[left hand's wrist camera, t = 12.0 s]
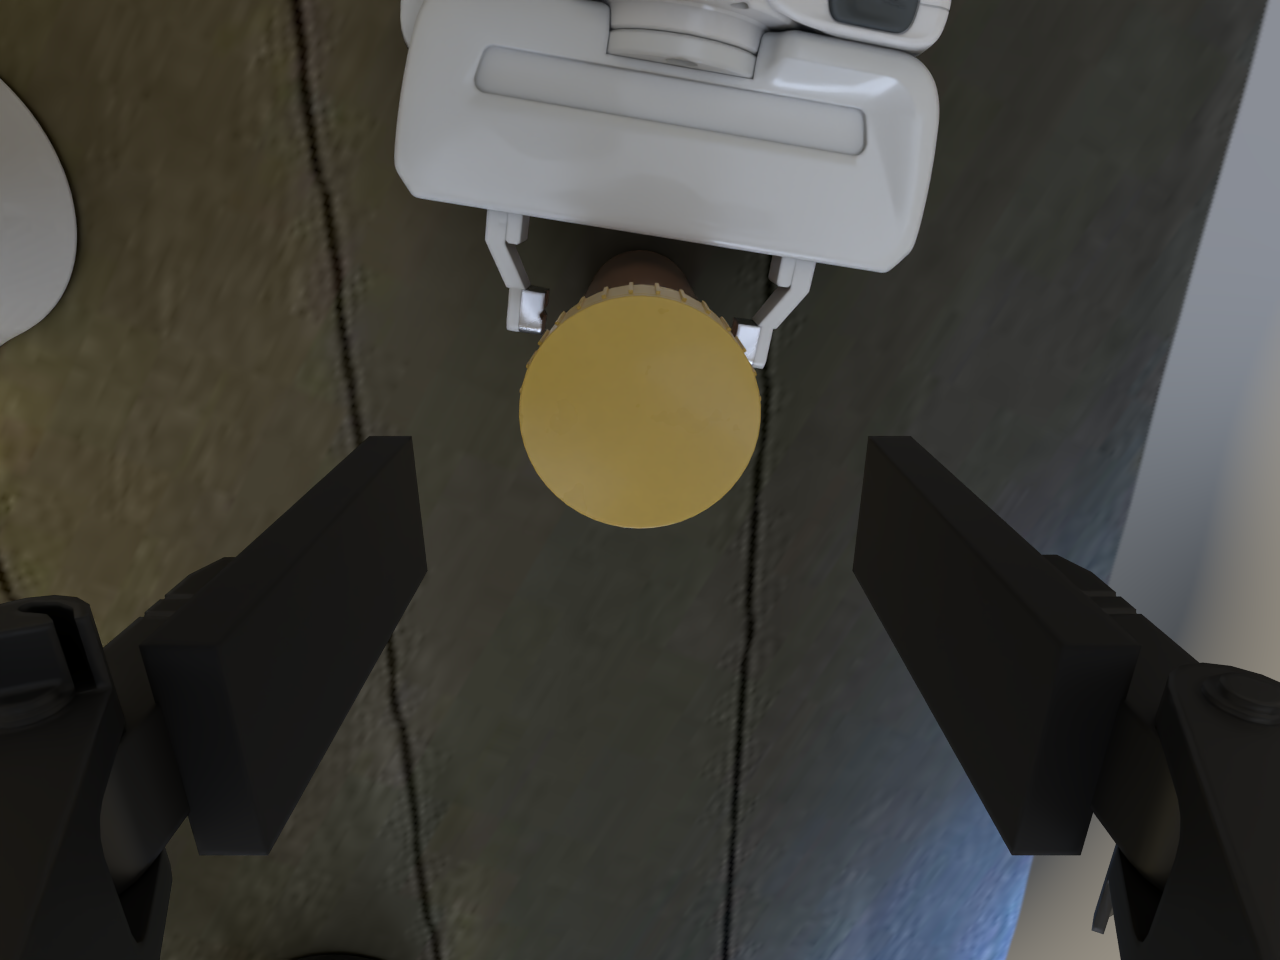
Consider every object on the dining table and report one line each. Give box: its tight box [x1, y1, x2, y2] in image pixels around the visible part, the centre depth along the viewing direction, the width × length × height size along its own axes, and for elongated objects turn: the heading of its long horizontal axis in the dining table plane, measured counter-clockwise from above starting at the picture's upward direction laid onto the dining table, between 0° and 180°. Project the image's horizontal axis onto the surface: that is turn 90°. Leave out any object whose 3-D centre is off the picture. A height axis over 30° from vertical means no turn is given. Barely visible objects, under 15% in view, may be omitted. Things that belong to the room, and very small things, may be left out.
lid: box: [519, 282, 761, 528], centre depth 20 cm, size 6×6×2 cm
